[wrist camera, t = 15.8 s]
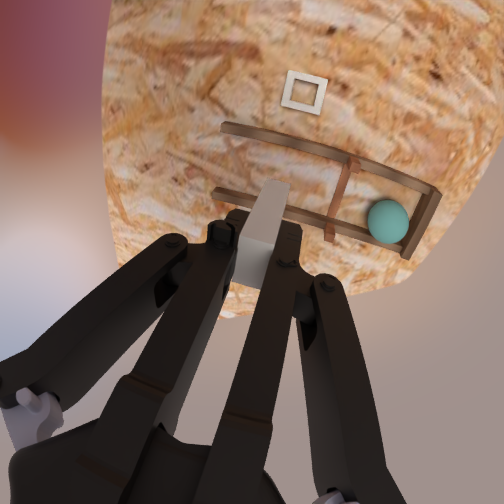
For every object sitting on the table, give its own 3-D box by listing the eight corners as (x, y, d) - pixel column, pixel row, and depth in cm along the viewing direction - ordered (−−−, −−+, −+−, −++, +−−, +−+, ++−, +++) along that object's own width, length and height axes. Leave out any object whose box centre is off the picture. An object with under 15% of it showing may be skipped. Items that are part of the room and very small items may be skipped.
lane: (215, 193, 41) (204, 207, 37) (225, 121, 34) (213, 126, 30) (404, 249, 38) (411, 267, 35) (435, 186, 32) (447, 200, 28)
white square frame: (282, 104, 31) (280, 105, 30) (290, 70, 28) (288, 69, 27) (319, 113, 31) (319, 115, 29) (327, 80, 28) (328, 79, 26)
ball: (376, 222, 39) (360, 244, 36) (377, 188, 35) (360, 208, 32) (411, 234, 35) (398, 258, 32) (415, 198, 31) (403, 220, 29)
